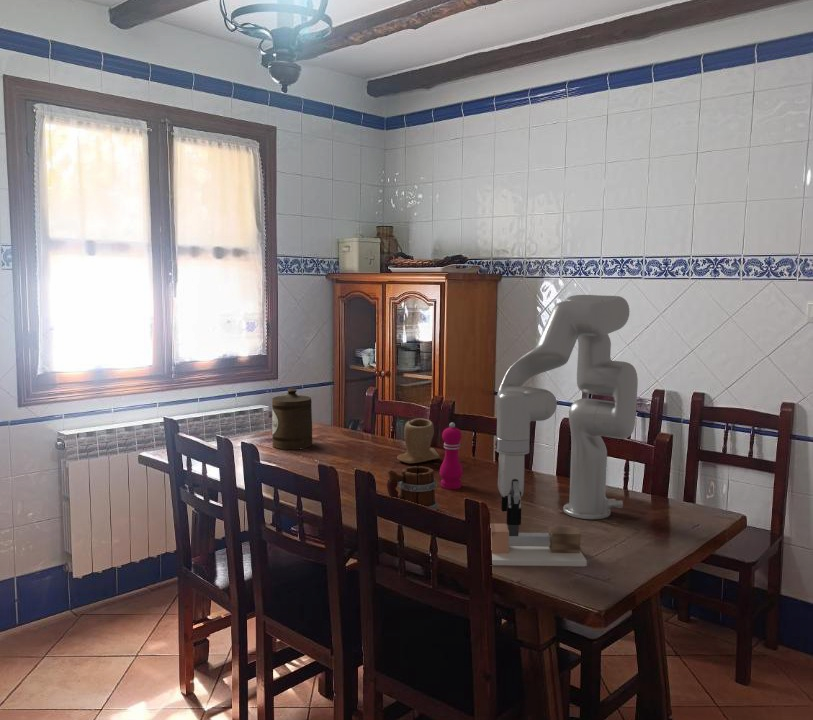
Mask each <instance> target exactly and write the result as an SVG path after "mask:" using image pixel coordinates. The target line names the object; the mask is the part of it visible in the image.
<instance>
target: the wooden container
mask: <svg viewBox="0 0 813 720" xmlns="http://www.w3.org/2000/svg"><path fill="white" fill-rule="evenodd" d="M271 400H272V401H271V404H272V405H271V407H272V410H271V411H272V412H271V413H272V416H271V417H272V419H271V420H272V422H271V423H272V427H271V428H272V429H271V430H272V431H271V432H272V447H273V446H274V447H273V448H275V447H276V448H275V449H278V448H280V449H279V450H284V449H296V450H301V449H300V448H304V449H308V448H310V447H312V446H313V419H312V417H313V415H312V414H313V413H312V412H313V411H312V397H311V396H307V395H302V394H300V395H298V394H297V389H296V388H295V387H289V388H288V389H287V394H285V395H278V396H274V397H272V399H271ZM311 445H312V446H311ZM307 447H308V448H307Z"/></svg>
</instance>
